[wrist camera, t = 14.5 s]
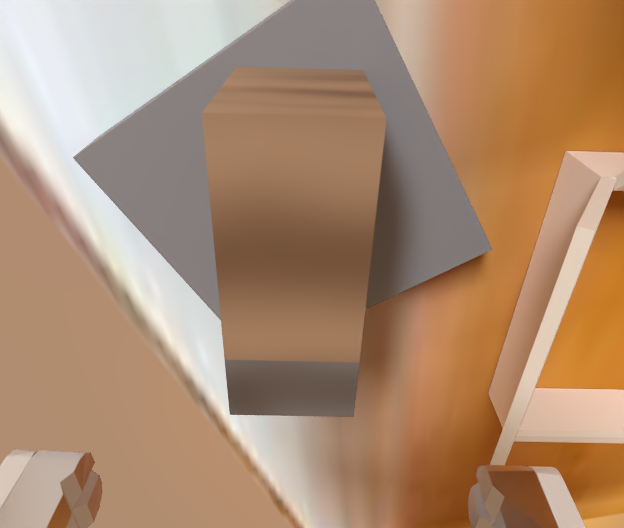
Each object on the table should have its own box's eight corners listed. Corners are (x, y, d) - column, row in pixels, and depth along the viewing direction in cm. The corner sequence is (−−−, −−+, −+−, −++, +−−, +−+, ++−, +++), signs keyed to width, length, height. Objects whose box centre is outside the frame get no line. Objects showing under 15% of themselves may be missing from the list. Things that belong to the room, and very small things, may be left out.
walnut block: (236, 66, 19) (201, 112, 13) (362, 70, 19) (386, 117, 13) (249, 308, 25) (230, 414, 19) (343, 310, 25) (353, 416, 19)
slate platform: (349, -41, 19) (354, -42, 17) (474, 221, 26) (492, 249, 23) (98, 136, 23) (73, 157, 21) (261, 326, 30) (257, 359, 27)
